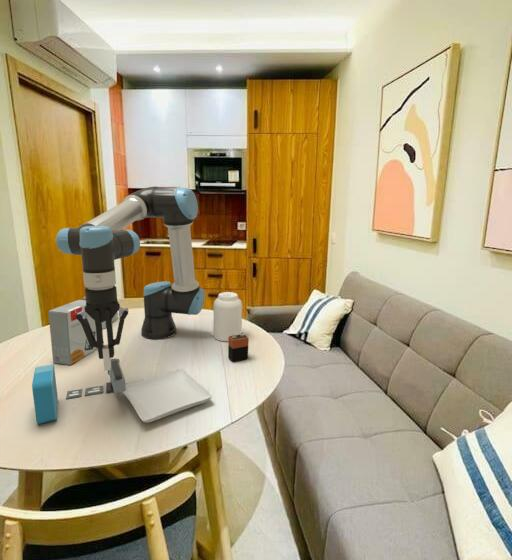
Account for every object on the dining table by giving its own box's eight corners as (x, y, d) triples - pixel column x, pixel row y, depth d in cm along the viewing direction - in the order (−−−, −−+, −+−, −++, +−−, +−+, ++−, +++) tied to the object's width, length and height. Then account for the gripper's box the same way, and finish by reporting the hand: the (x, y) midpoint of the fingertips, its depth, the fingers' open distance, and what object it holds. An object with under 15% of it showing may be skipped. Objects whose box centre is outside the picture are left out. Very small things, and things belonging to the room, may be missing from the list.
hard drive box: (70, 366, 119) (65, 313, 114) (52, 363, 120) (46, 311, 116) (99, 348, 134) (95, 300, 129) (82, 346, 135) (78, 299, 131)
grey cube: (123, 382, 109) (122, 369, 108) (123, 390, 105) (122, 376, 104) (106, 385, 108) (105, 371, 106) (106, 393, 103) (105, 379, 102)
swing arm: (107, 371, 106) (106, 357, 105) (119, 368, 107) (118, 354, 106) (113, 394, 93) (112, 378, 92) (126, 391, 95) (125, 375, 94)
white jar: (230, 344, 141) (231, 299, 137) (207, 337, 148) (207, 294, 143) (246, 335, 152) (247, 293, 147) (224, 329, 158) (225, 288, 153)
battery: (248, 359, 128) (249, 335, 126) (232, 362, 125) (232, 338, 123) (243, 354, 132) (244, 331, 130) (227, 358, 129) (228, 333, 127)
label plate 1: (82, 390, 104) (81, 388, 104) (81, 396, 101) (81, 395, 101) (67, 392, 103) (67, 391, 103) (66, 399, 99) (65, 398, 99)
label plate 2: (103, 386, 107) (103, 385, 107) (102, 393, 103) (102, 391, 103) (85, 389, 105) (85, 388, 105) (84, 396, 101) (84, 394, 101)
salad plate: (181, 375, 116) (181, 366, 115) (213, 405, 100) (213, 394, 99) (118, 395, 103) (118, 385, 102) (143, 433, 87) (143, 421, 86)
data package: (40, 402, 97) (35, 365, 95) (57, 399, 99) (53, 362, 97) (37, 427, 87) (31, 385, 84) (57, 422, 89) (52, 381, 87)
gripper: (69, 291, 81) (79, 378, 87) (126, 288, 85) (132, 371, 91) (75, 284, 88) (84, 364, 94) (127, 281, 92) (133, 359, 98)
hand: (107, 368), depth 93 cm, fingers closed
